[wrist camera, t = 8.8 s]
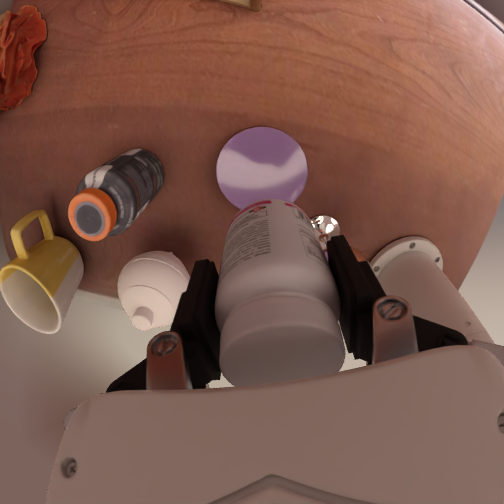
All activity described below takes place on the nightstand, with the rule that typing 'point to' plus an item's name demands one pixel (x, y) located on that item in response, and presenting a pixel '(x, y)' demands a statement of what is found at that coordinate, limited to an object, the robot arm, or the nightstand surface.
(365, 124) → the nightstand surface
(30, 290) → the mug
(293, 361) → the pill bottle
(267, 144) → the coaster
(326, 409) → the robot arm
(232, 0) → the rack
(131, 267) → the spinning top
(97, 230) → the pill bottle
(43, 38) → the seashell
